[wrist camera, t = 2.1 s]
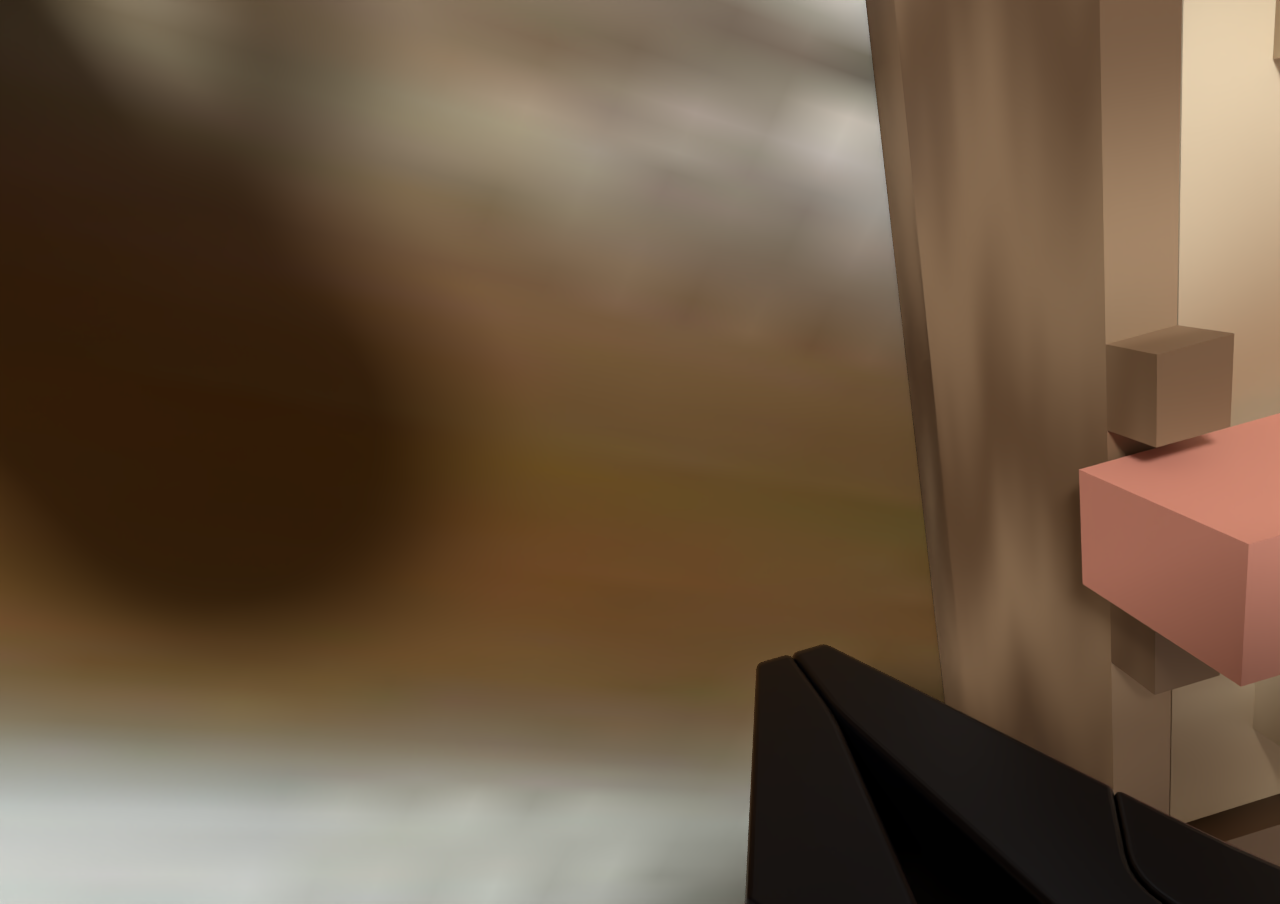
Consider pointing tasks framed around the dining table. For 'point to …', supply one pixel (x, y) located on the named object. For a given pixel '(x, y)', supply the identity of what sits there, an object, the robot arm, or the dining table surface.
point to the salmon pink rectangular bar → (1194, 544)
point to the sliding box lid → (1263, 342)
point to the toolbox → (1046, 355)
